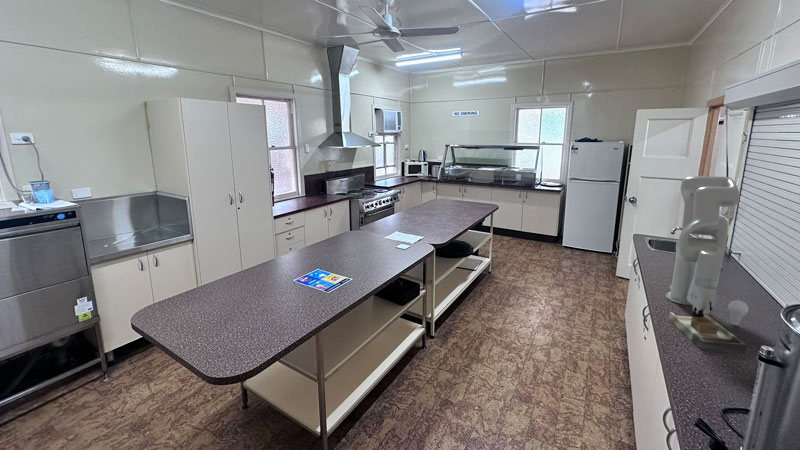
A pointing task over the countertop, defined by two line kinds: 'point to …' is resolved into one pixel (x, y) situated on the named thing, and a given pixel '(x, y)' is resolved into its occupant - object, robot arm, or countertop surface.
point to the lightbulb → (737, 311)
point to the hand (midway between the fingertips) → (696, 321)
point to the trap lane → (709, 336)
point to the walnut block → (704, 325)
